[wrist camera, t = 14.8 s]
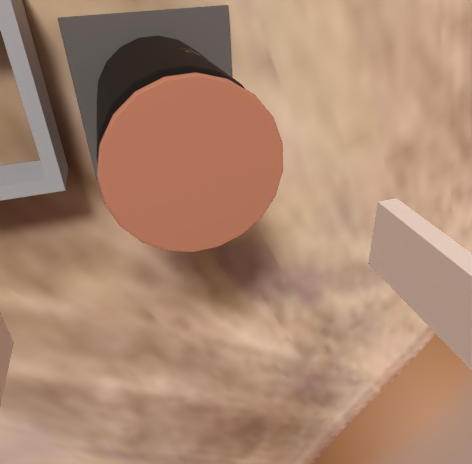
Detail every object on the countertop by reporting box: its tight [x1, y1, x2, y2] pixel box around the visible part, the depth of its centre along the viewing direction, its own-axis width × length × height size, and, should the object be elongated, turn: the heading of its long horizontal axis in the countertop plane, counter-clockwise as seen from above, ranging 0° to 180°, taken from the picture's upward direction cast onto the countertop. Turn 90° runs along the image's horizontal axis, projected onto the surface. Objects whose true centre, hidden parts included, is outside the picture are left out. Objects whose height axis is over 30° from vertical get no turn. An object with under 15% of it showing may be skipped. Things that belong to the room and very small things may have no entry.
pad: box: [58, 5, 232, 180], centre depth 39 cm, size 14×14×1 cm
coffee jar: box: [97, 36, 283, 252], centre depth 31 cm, size 11×11×18 cm
